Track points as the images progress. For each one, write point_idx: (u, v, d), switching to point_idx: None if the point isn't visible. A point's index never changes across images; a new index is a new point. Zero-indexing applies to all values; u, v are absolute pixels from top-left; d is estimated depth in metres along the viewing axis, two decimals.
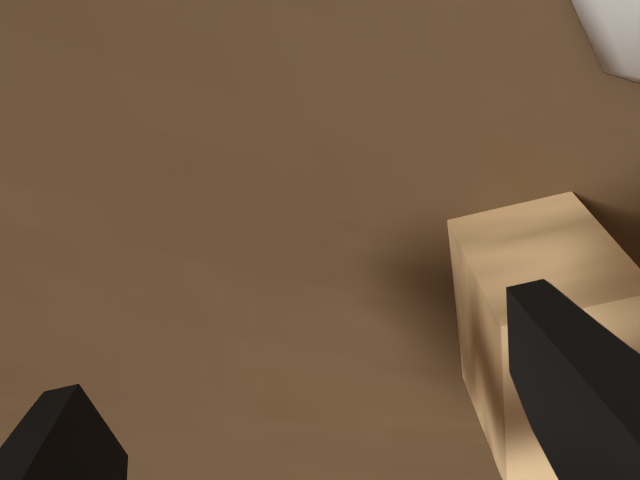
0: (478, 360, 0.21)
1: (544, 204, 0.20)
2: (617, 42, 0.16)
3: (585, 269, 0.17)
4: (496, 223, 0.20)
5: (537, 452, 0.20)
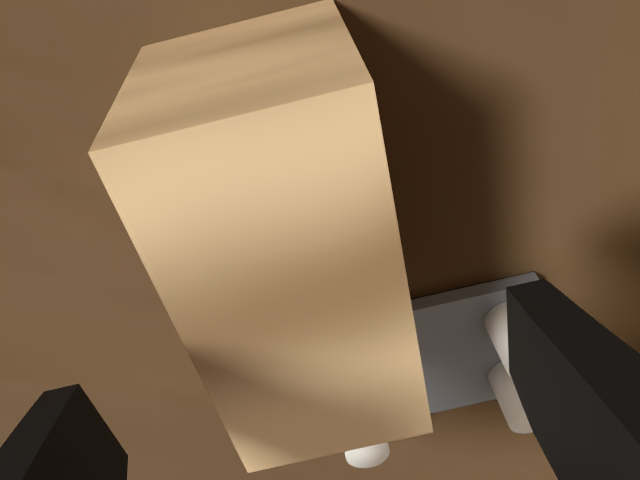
0: None
1: (284, 15, 0.13)
2: None
3: (279, 72, 0.10)
4: (202, 41, 0.13)
5: (270, 406, 0.12)
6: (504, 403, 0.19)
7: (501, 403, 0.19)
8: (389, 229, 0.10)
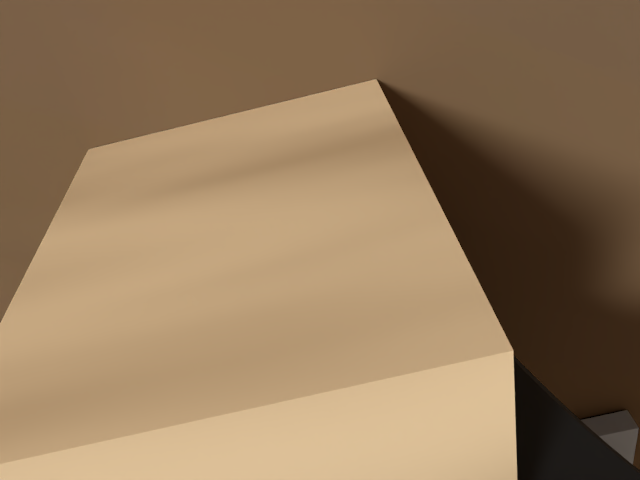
0: None
1: (305, 110, 0.08)
2: None
3: (306, 269, 0.05)
4: (176, 155, 0.08)
5: None
6: None
7: None
8: None
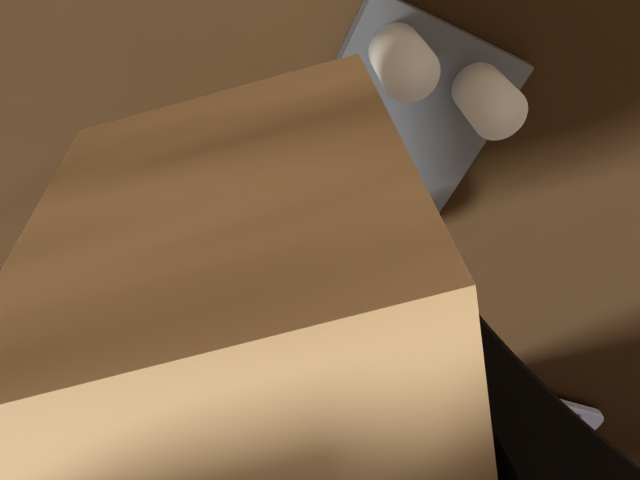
0: None
1: (289, 84, 0.08)
2: None
3: (283, 225, 0.06)
4: (163, 131, 0.08)
5: None
6: (470, 123, 0.15)
7: None
8: None
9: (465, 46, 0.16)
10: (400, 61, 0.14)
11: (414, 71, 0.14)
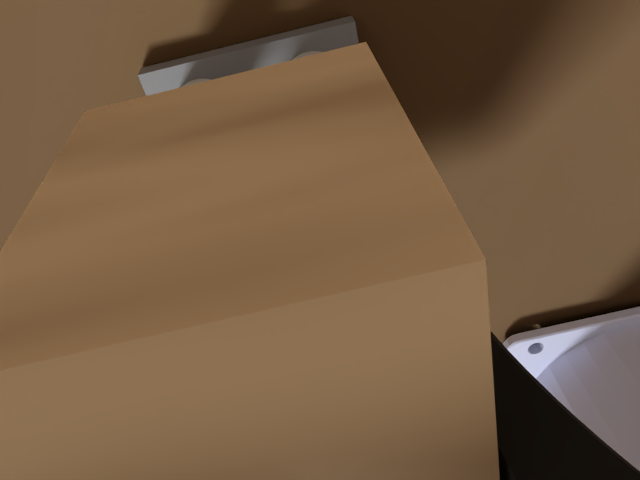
0: None
1: (296, 70, 0.08)
2: None
3: (293, 201, 0.06)
4: (169, 112, 0.08)
5: None
6: None
7: None
8: (482, 471, 0.06)
9: (265, 56, 0.13)
10: None
11: None
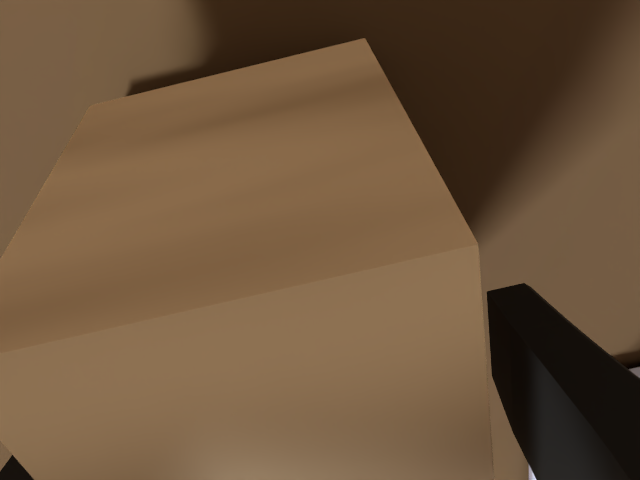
0: None
1: (296, 65, 0.09)
2: None
3: (294, 191, 0.06)
4: (173, 106, 0.08)
5: None
6: None
7: None
8: (476, 450, 0.06)
9: None
10: None
11: None
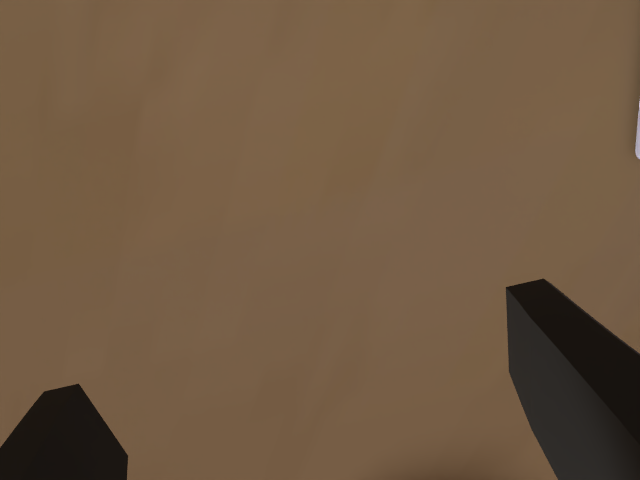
0: None
1: None
2: None
3: None
4: None
5: None
6: None
7: None
8: None
9: None
10: None
11: None
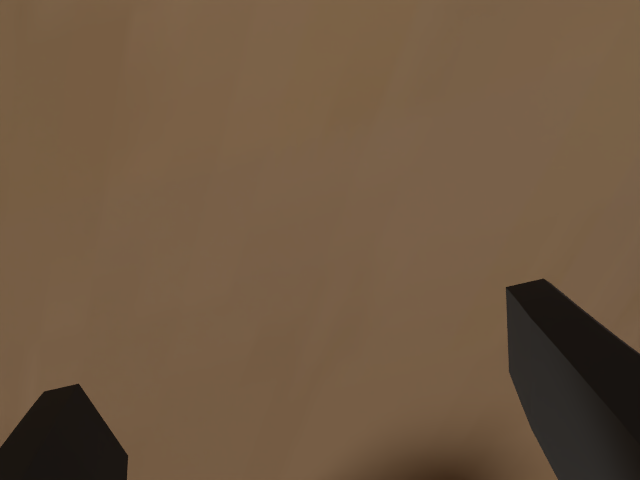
0: None
1: None
2: None
3: None
4: None
5: None
6: None
7: None
8: None
9: None
10: None
11: None
